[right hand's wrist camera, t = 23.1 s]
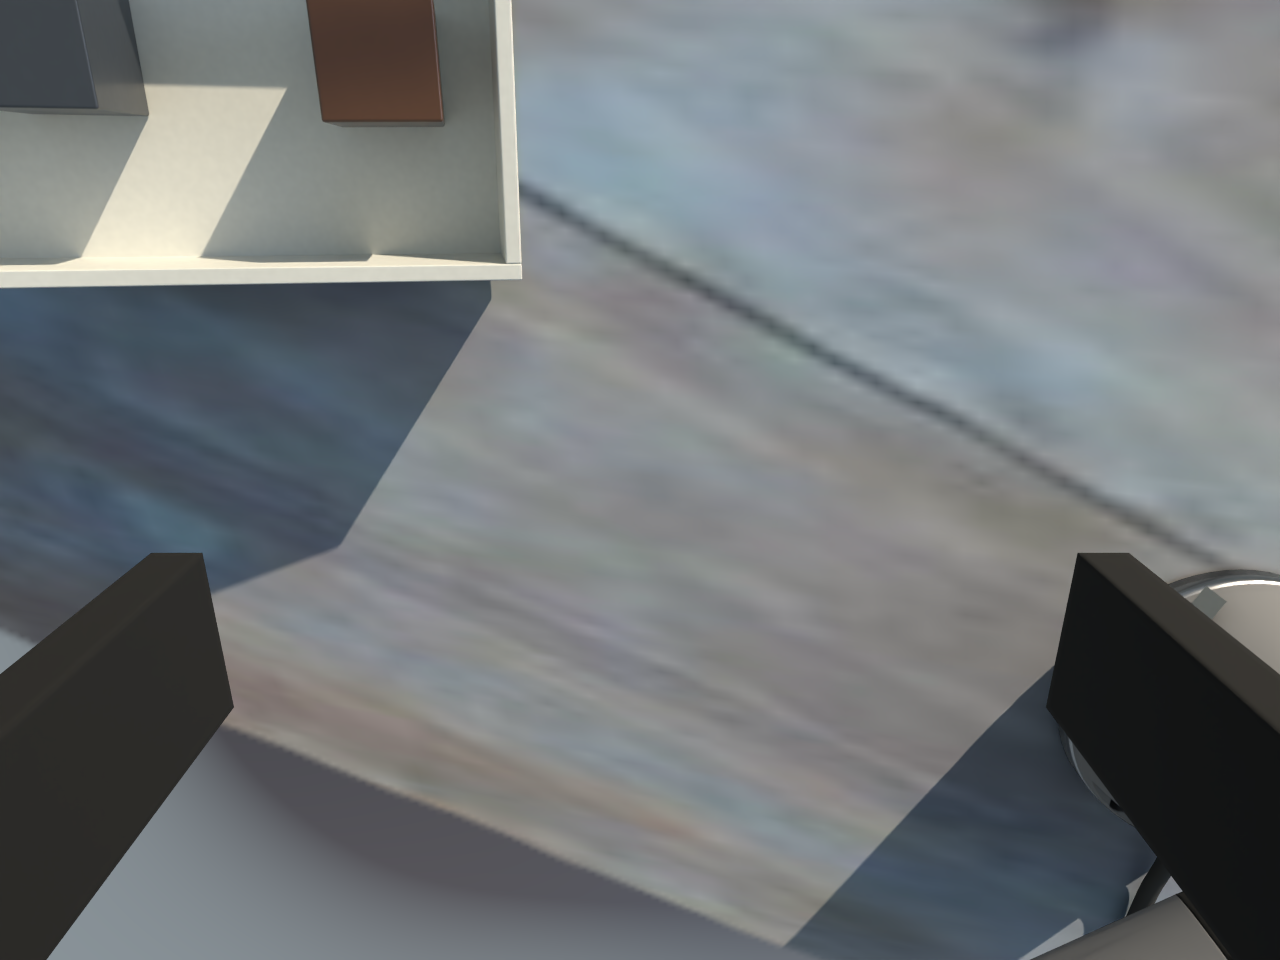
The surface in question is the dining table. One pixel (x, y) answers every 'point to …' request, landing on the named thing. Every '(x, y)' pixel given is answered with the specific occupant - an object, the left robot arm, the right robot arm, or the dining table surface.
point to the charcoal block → (70, 58)
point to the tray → (266, 165)
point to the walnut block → (377, 62)
